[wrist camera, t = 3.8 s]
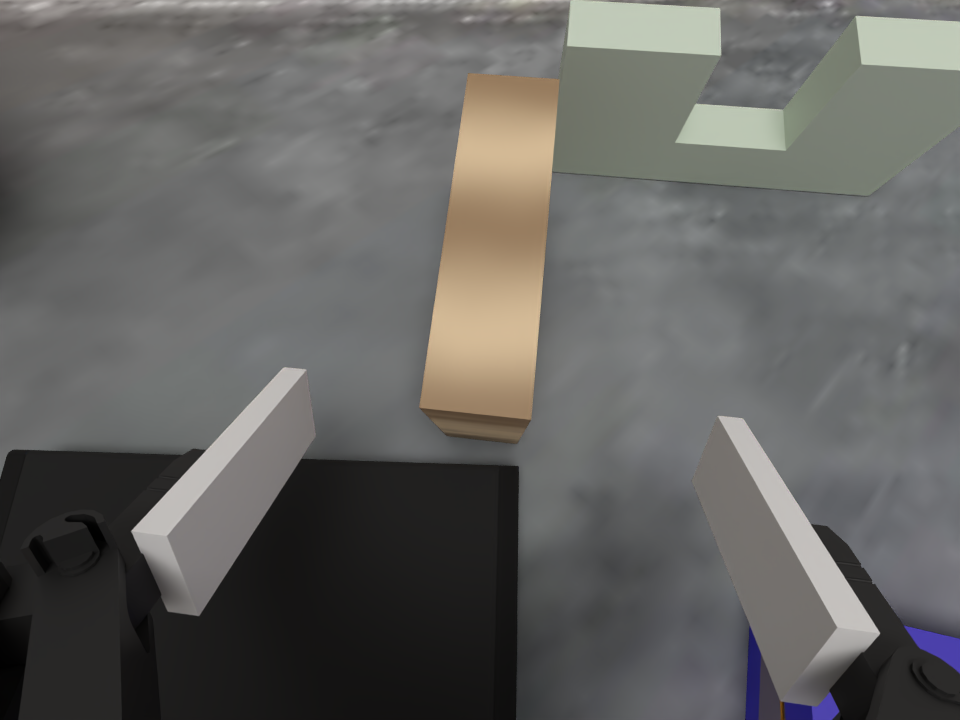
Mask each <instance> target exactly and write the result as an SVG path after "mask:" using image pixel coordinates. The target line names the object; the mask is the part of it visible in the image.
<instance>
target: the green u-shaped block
mask: <svg viewBox="0 0 960 720" xmlns="http://www.w3.org/2000/svg"><path fill="white" fill-rule="evenodd" d="M720 57H721V29H720V8H706V7H688V6H670V5H653V4H635V3H617V2H600V1H582V0H571V1H570V8H569V14H568V20H567V26H566V33H565V39H564V45H563V52H562V58H561V64H560V70H559V77H558V79H560V81H559V93H558V105H557V117H556V129H555V141H554V153H553V165H552V172H561V173H574V174H587V175H600V176H613V177H626V178H639V179H652V180H665V181H678V182H691V183H703V184H716V185H729V186H742V187H755V188H768V189H781V190H794V191H807V192H820V193H833V194H846V195H859V196H869V195H871V194H872V193H873V192H875V191H876V190H877V189H879V188H880V187H881V186H883V185H884V184H885V183H886V182H888V181H889V180H890V179H892V178H893V177H894V176H896V175H897V174H898V173H899V172H901V171H902V170H903V169H905V168H906V167H907V166H909V165H910V164H911V163H912V162H914V161H915V160H916V159H918V158H919V157H920V156H922V155H923V154H924V153H925V152H927V151H928V150H929V149H931V148H932V147H933V146H935V145H936V144H937V143H939V142H940V141H941V140H942V139H944V138H945V137H946V136H948V135H949V134H950V133H952V132H953V131H954V130H955V129H957V128H958V127H959V126H960V22H953V21H935V20H918V19H900V18H882V17H865V16H855V18H854V19H853V20H852V22H851V23H850V24H849V25H848V27H847V28H846V29H845V31H844V32H843V33H842V34H841V36H840V37H839V38H838V40H837V41H836V42H835V44H834V45H833V46H832V47H831V49H830V50H829V51H828V53H827V54H826V55H825V56H824V58H823V59H822V60H821V62H820V63H819V64H818V65H817V67H816V68H815V69H814V71H813V72H812V73H811V75H810V76H809V77H808V78H807V80H806V81H805V82H804V84H803V85H802V86H801V87H800V89H799V90H798V91H797V93H796V94H795V95H794V97H793V98H792V99H791V100H790V102H789V103H788V104H787V106H786V107H785V108H784V109H783V110H778V109H764V108H749V107H734V106H720V105H705V104H696V102H697V100H698V98H699V96H700V95H701V93H702V91H703V89H704V87H705V85H706V83H707V81H708V79H709V78H710V76H711V74H712V72H713V70H714V68H715V66H716V64H717V62H718V61H719V59H720Z"/></svg>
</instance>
